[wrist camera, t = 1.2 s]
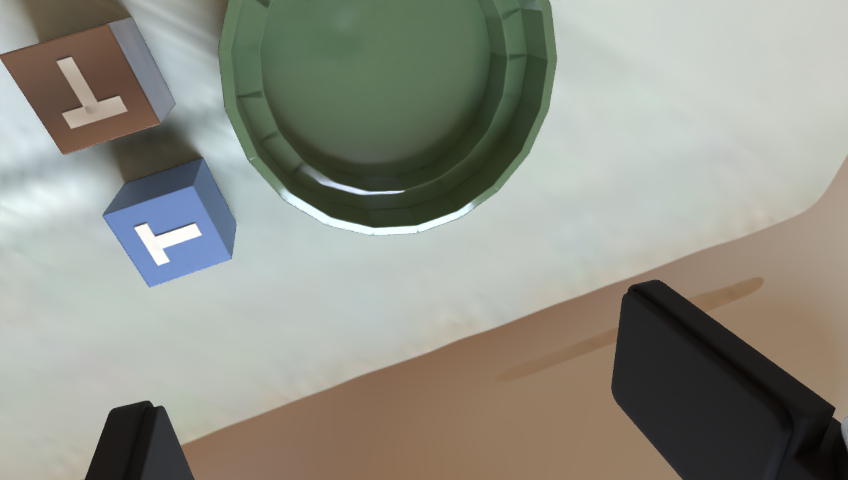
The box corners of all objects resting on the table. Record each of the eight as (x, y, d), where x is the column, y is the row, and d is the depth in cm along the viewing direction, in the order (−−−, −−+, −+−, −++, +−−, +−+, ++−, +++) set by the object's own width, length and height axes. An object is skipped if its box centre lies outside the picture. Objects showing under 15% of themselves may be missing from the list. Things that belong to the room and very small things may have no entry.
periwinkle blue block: (124, 183, 32) (100, 215, 27) (203, 157, 32) (192, 185, 28) (164, 249, 34) (148, 289, 30) (237, 224, 35) (232, 259, 30)
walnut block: (39, 43, 27) (-4, 55, 23) (132, 16, 28) (106, 23, 24) (92, 130, 30) (61, 156, 26) (176, 104, 31) (160, 125, 26)
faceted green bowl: (170, -54, 27) (146, -62, 22) (485, -142, 29) (532, -168, 24) (296, 233, 36) (300, 275, 31) (530, 151, 38) (571, 178, 33)
